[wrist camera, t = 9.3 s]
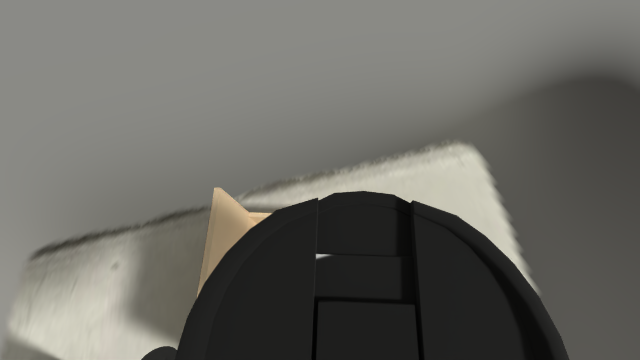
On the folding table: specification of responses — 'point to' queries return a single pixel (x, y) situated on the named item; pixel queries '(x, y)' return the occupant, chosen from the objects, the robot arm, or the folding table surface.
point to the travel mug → (367, 290)
